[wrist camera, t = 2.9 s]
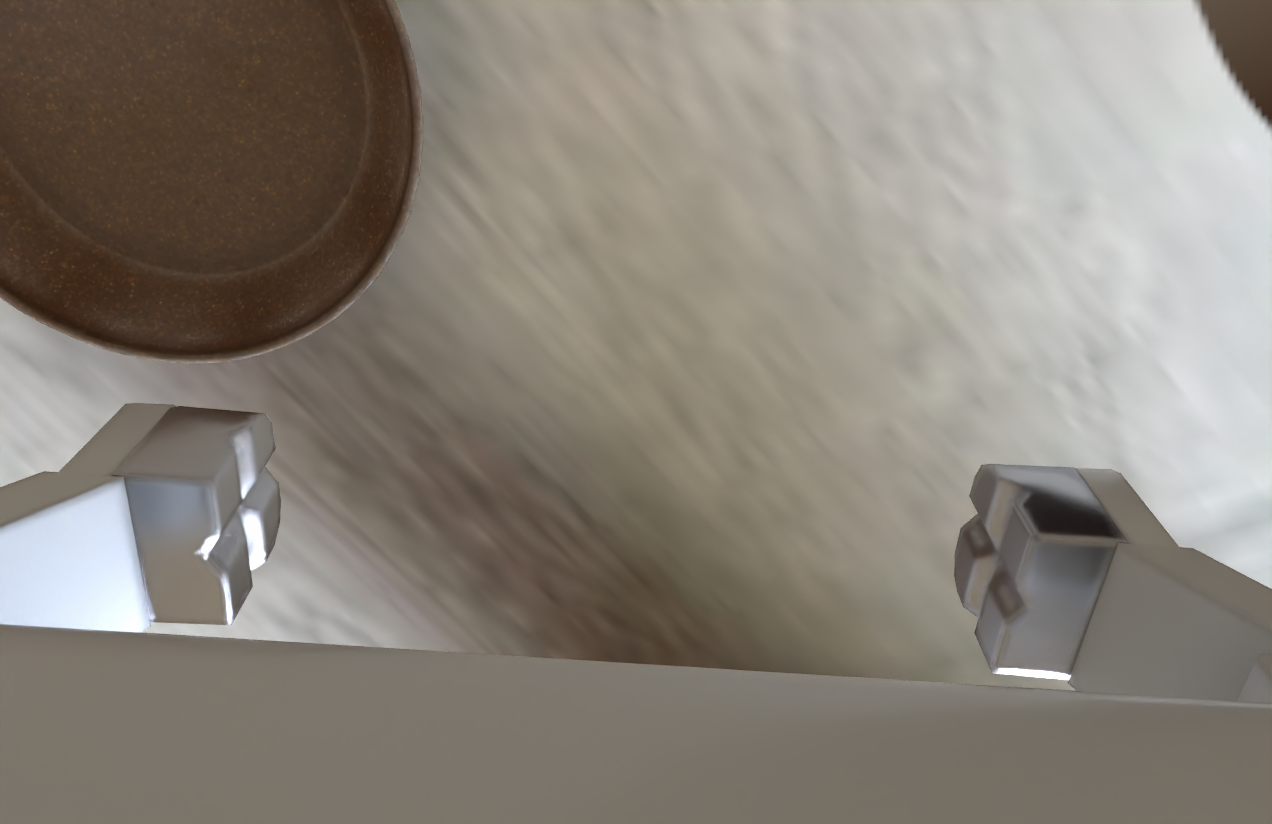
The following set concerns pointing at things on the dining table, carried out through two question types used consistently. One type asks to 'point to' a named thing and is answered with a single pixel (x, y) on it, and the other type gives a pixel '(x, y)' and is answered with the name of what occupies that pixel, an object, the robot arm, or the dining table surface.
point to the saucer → (202, 167)
